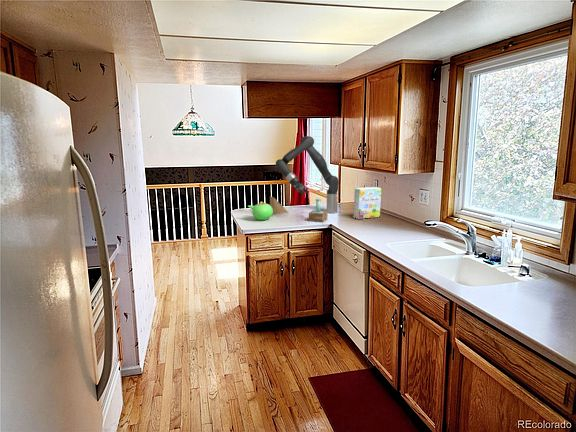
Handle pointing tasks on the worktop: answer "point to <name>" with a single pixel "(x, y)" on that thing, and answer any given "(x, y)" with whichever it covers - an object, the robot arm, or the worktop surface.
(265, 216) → the green teapot
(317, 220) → the walnut box
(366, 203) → the snack box
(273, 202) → the sandwich container
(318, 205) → the teal piece
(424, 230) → the worktop surface
